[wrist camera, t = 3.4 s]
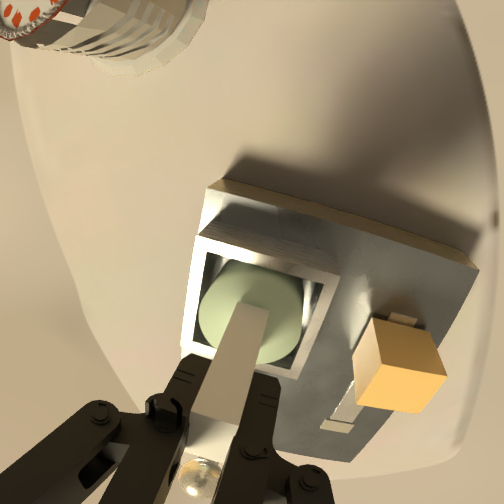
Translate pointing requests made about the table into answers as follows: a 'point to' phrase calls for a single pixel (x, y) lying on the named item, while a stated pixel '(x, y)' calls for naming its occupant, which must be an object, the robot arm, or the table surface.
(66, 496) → the robot arm
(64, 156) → the table surface
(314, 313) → the panel
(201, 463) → the toggle lever
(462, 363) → the table surface
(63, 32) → the french press
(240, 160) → the table surface
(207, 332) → the push button
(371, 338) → the yellow cube
